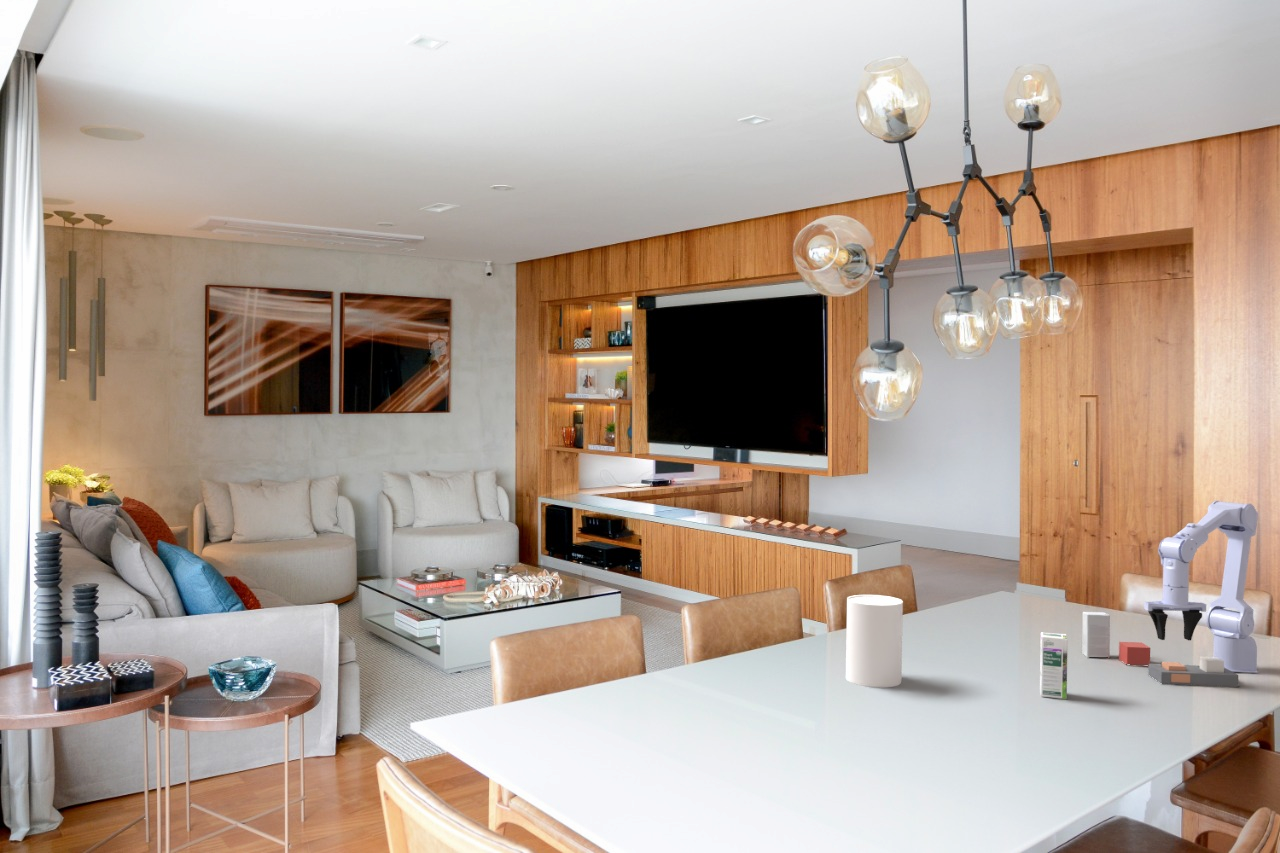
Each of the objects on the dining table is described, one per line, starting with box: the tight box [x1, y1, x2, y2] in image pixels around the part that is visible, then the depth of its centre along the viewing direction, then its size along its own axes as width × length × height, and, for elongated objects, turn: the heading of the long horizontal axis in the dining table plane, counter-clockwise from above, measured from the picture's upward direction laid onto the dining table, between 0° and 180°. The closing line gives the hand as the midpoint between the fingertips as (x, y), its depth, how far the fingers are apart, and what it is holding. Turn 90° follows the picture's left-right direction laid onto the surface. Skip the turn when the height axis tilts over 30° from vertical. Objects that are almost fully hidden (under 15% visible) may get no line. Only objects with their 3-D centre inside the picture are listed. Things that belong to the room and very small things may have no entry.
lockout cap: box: [1118, 641, 1151, 667], centre depth 262 cm, size 6×6×5 cm
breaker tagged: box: [1161, 661, 1186, 671], centre depth 246 cm, size 4×4×4 cm
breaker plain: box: [1199, 656, 1224, 673], centre depth 245 cm, size 4×4×4 cm
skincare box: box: [1081, 611, 1111, 659], centre depth 269 cm, size 6×4×12 cm
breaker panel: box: [1147, 663, 1239, 688], centre depth 245 cm, size 18×8×3 cm, turn 83°
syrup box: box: [1039, 631, 1069, 700], centre depth 232 cm, size 6×6×14 cm
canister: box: [845, 594, 904, 688], centre depth 244 cm, size 14×14×20 cm
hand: (1174, 639), depth 246 cm, fingers open, 6 cm apart
